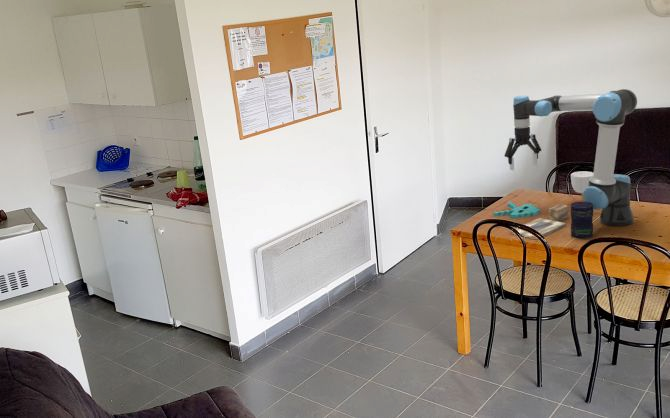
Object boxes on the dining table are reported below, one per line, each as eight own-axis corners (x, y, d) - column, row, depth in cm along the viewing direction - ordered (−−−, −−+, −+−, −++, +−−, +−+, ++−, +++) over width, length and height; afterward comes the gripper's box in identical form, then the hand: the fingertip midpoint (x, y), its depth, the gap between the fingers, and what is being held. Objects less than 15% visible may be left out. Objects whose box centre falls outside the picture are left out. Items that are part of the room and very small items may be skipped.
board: (566, 226, 320) (566, 223, 319) (535, 240, 306) (535, 236, 306) (539, 220, 331) (539, 217, 331) (509, 233, 318) (509, 230, 317)
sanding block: (568, 218, 331) (568, 205, 330) (557, 222, 326) (557, 210, 324) (559, 216, 335) (559, 204, 333) (548, 221, 330) (548, 208, 328)
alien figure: (493, 216, 347) (530, 220, 335) (493, 212, 346) (530, 216, 334) (509, 206, 362) (544, 209, 350) (508, 202, 361) (544, 205, 349)
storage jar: (592, 239, 299) (592, 207, 295) (569, 238, 303) (569, 207, 299) (593, 232, 308) (593, 201, 304) (571, 231, 312) (571, 201, 308)
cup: (571, 202, 355) (570, 171, 350) (594, 202, 351) (594, 171, 346) (570, 208, 345) (570, 177, 340) (594, 208, 340) (595, 176, 336)
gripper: (538, 122, 340) (540, 162, 345) (496, 129, 333) (498, 170, 339) (547, 123, 333) (548, 164, 338) (504, 131, 326) (506, 173, 332)
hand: (523, 167), depth 338 cm, fingers open, 13 cm apart
